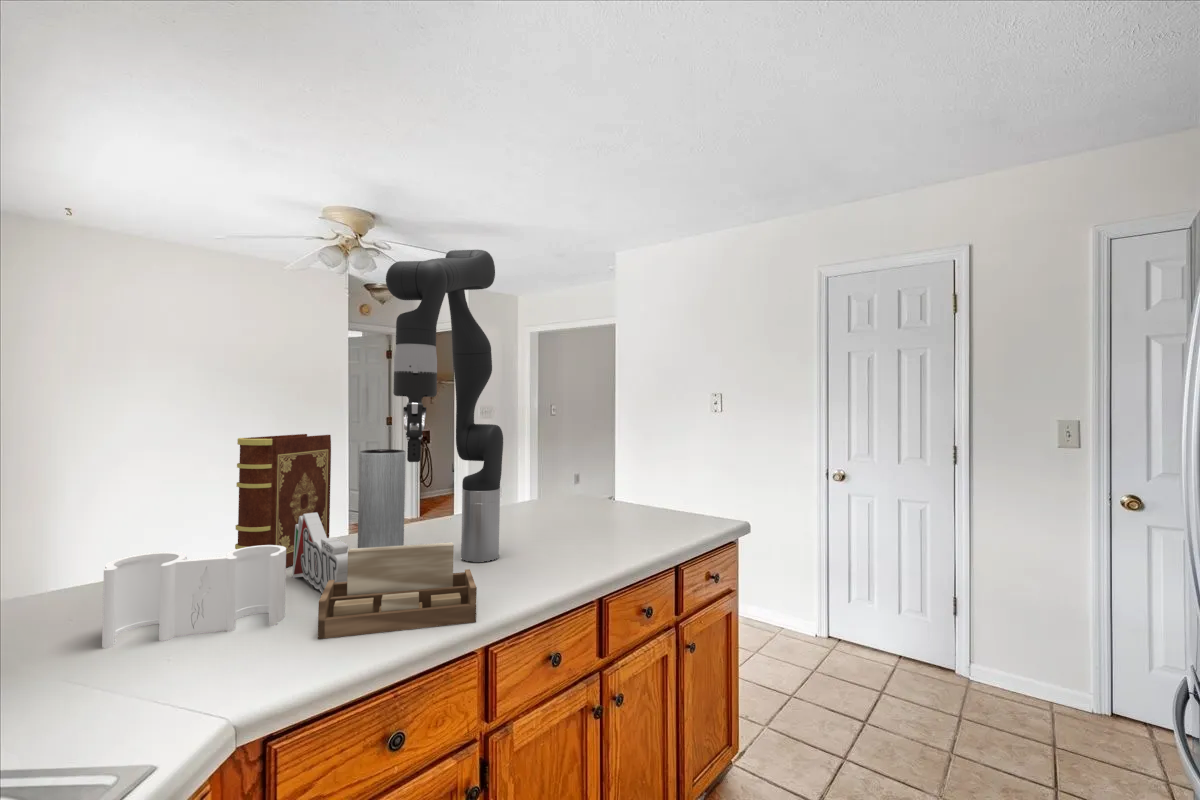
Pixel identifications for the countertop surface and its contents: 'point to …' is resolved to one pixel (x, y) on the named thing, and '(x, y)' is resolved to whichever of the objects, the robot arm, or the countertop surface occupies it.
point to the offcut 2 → (445, 600)
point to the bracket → (192, 591)
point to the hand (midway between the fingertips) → (414, 459)
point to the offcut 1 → (353, 607)
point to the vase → (381, 498)
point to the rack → (396, 619)
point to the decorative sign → (318, 553)
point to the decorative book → (281, 488)
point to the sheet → (399, 568)
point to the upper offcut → (400, 601)
